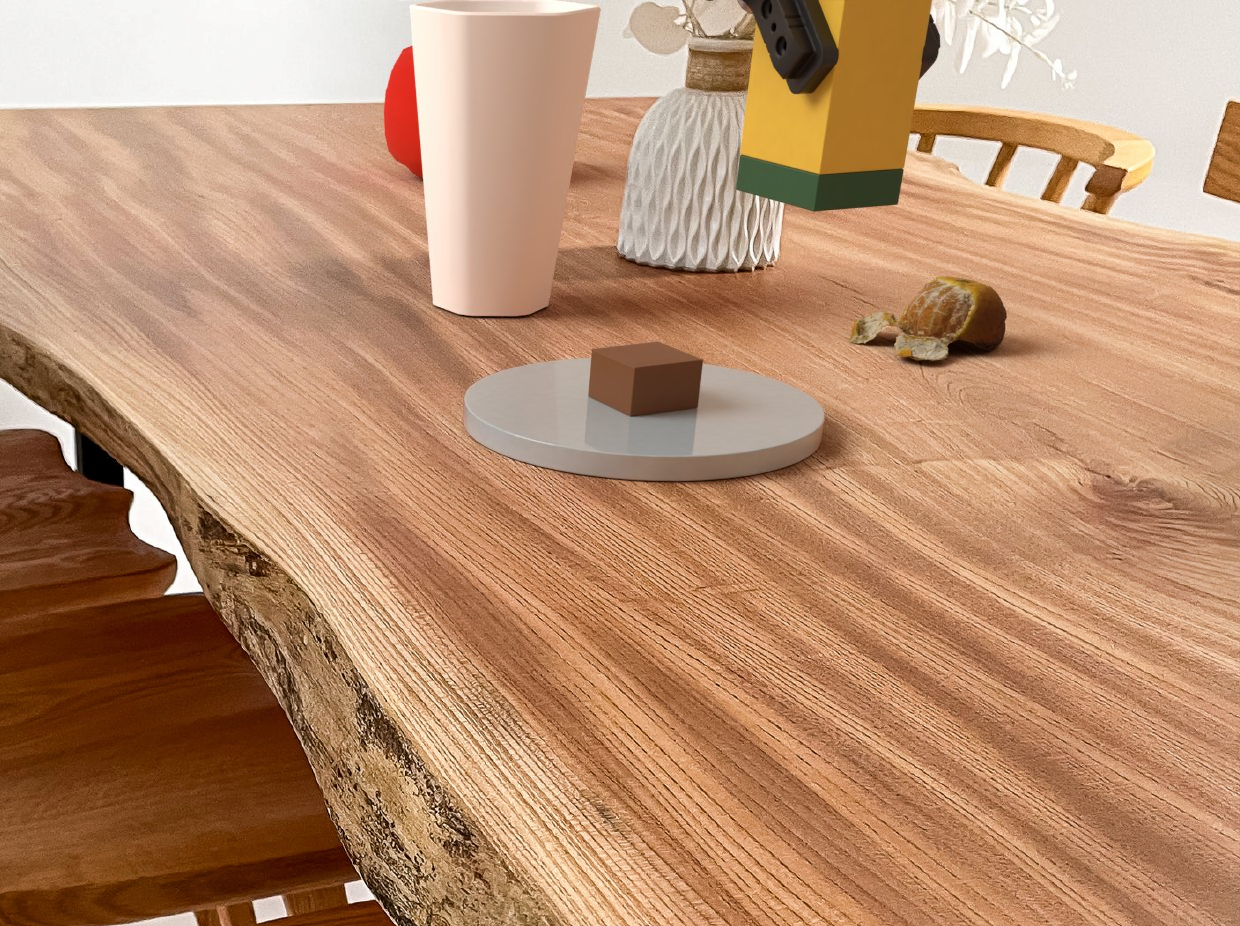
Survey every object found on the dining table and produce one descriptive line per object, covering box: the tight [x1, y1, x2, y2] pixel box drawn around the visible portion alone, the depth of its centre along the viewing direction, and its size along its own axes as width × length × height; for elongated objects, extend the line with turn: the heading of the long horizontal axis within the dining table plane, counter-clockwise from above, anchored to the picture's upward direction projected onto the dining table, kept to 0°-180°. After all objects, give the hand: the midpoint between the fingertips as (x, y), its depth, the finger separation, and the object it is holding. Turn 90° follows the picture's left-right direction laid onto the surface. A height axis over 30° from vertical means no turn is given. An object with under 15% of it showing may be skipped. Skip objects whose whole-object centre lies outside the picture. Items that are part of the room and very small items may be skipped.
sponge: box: [735, 0, 933, 212], centre depth 67 cm, size 5×4×8 cm
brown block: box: [588, 341, 704, 417], centre depth 88 cm, size 4×4×2 cm
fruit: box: [849, 276, 1008, 362], centre depth 103 cm, size 8×8×4 cm
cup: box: [409, 0, 602, 317], centre depth 108 cm, size 11×10×17 cm
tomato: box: [383, 44, 423, 180], centre depth 152 cm, size 14×13×10 cm
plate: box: [462, 357, 826, 482], centre depth 89 cm, size 18×18×1 cm
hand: (867, 74), depth 65 cm, fingers closed on sponge, 4 cm apart
